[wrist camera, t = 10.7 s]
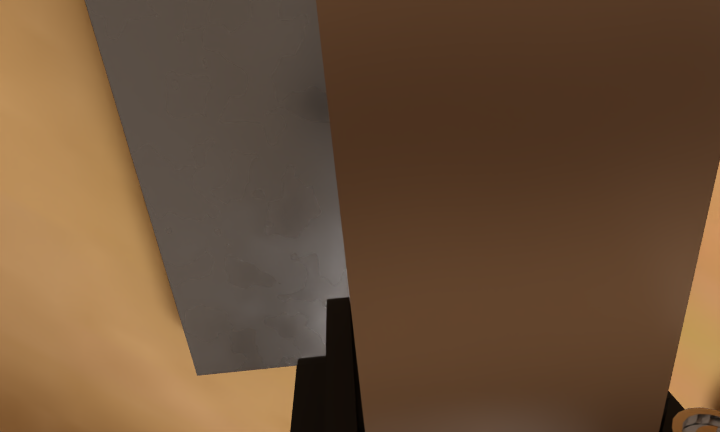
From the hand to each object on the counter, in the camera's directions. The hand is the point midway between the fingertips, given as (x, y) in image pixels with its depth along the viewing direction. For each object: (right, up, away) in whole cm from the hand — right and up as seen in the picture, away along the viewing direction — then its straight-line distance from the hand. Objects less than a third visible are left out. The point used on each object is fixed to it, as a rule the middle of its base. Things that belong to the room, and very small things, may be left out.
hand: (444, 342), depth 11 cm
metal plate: (-7, +6, +13) cm, 15 cm away
